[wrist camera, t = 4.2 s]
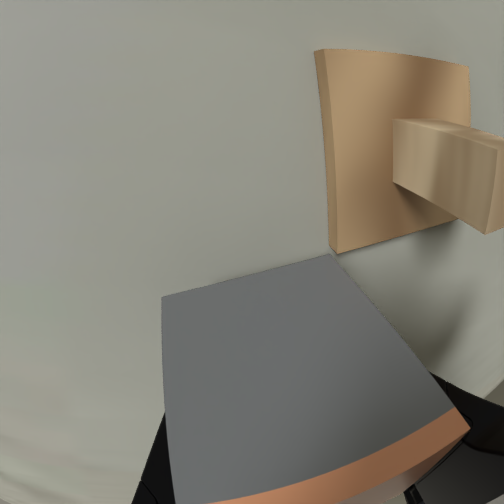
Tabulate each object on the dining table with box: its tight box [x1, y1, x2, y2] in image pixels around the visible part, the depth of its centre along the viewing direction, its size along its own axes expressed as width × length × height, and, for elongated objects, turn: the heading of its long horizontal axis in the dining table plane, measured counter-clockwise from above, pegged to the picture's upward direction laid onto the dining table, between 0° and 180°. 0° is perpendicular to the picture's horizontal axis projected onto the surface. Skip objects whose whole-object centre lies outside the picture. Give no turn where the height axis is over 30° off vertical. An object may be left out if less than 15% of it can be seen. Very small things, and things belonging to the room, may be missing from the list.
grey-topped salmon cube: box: [162, 254, 471, 504], centre depth 7 cm, size 5×5×7 cm
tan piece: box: [314, 49, 504, 254], centre depth 9 cm, size 8×8×6 cm
